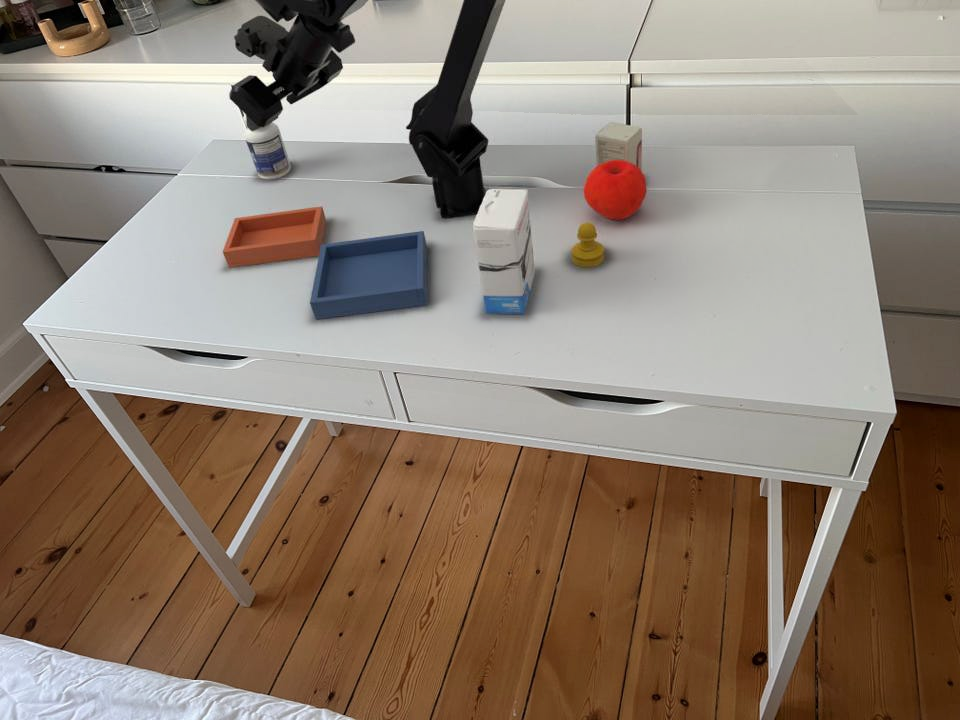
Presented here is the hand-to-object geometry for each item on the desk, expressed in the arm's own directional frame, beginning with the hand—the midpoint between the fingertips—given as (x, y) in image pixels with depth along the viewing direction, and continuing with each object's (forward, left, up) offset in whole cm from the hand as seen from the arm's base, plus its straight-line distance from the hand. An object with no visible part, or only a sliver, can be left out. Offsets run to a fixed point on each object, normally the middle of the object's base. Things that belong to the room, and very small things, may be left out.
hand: (270, 114), depth 116 cm
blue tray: (-15, +32, -10) cm, 37 cm away
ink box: (-32, +38, -10) cm, 51 cm away
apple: (-47, +24, -10) cm, 54 cm away
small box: (-49, +16, -10) cm, 53 cm away
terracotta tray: (-1, +20, -10) cm, 23 cm away
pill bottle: (+3, -2, -10) cm, 11 cm away
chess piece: (-42, +33, -10) cm, 55 cm away
